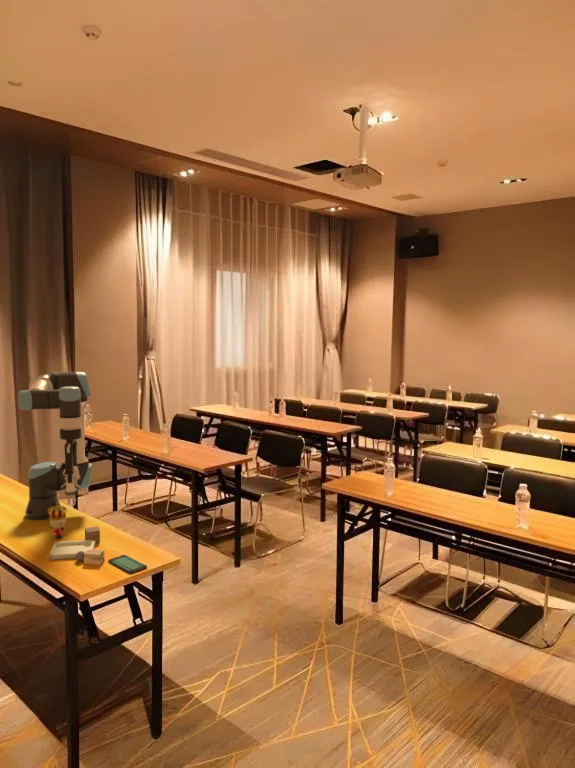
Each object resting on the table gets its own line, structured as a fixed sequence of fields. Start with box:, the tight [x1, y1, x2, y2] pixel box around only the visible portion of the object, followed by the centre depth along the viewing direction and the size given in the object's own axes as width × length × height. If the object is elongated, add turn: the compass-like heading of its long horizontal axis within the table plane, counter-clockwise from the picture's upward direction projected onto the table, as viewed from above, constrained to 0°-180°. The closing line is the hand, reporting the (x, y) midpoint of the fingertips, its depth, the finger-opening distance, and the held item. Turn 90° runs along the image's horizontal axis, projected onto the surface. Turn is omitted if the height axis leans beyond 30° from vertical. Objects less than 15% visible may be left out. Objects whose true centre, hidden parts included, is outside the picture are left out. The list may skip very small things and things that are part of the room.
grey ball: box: [75, 551, 85, 562], centre depth 211 cm, size 4×4×4 cm
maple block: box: [83, 548, 106, 566], centre depth 210 cm, size 4×6×4 cm, turn 85°
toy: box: [48, 501, 68, 539], centre depth 232 cm, size 7×7×15 cm
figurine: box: [61, 466, 84, 507], centre depth 216 cm, size 10×6×15 cm, turn 70°
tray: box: [48, 539, 96, 561], centre depth 219 cm, size 13×15×2 cm
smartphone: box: [107, 554, 148, 575], centre depth 208 cm, size 7×1×15 cm
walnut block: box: [84, 525, 101, 544], centre depth 230 cm, size 5×5×5 cm
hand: (71, 488), depth 216 cm, fingers closed on figurine, 6 cm apart
